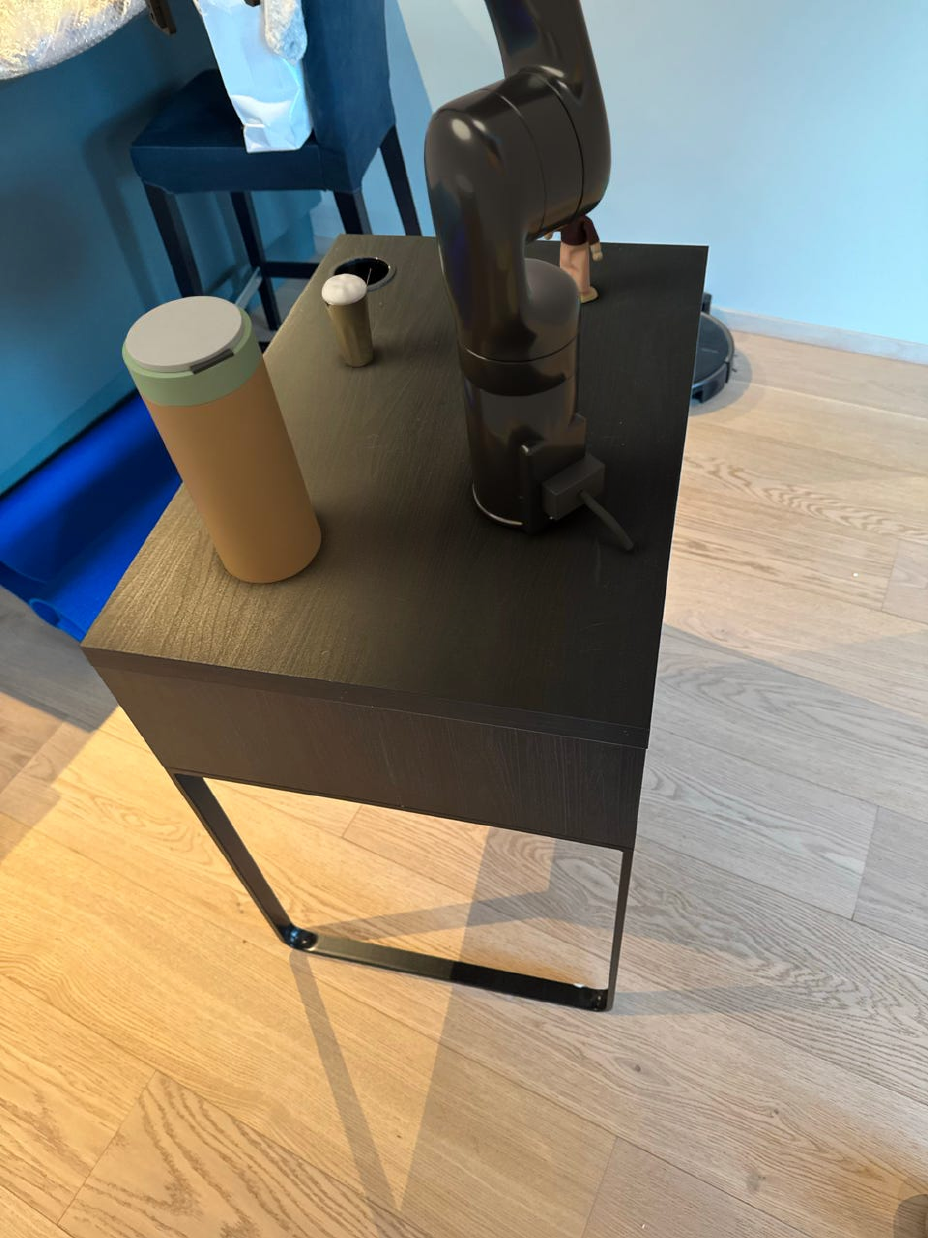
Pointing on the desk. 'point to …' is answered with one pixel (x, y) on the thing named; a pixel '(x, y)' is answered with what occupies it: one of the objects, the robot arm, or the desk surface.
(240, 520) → the lidded travel tumbler
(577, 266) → the grandmother figurine
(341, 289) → the milkshake
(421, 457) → the desk surface
